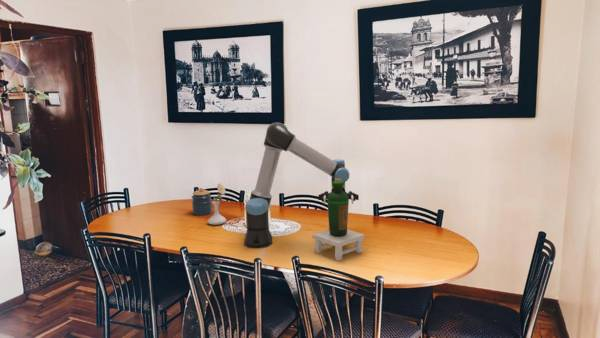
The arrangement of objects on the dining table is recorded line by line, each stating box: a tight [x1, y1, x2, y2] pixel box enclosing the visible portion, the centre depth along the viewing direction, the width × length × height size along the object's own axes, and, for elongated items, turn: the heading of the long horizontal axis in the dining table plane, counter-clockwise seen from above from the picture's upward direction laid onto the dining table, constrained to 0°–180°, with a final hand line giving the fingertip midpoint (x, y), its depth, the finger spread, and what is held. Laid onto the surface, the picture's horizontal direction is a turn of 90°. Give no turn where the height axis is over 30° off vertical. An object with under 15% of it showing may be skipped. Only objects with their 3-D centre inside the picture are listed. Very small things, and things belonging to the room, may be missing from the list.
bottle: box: [326, 178, 350, 237], centre depth 208 cm, size 11×11×28 cm
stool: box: [312, 229, 365, 261], centre depth 211 cm, size 18×18×9 cm
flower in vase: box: [207, 183, 227, 226], centre depth 262 cm, size 13×11×25 cm
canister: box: [191, 187, 213, 217], centre depth 286 cm, size 13×13×18 cm
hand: (338, 201), depth 207 cm, fingers open, 13 cm apart
